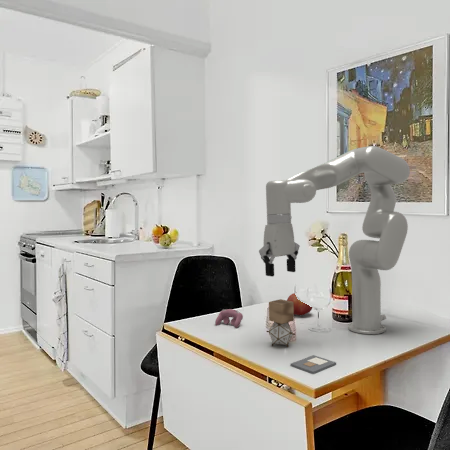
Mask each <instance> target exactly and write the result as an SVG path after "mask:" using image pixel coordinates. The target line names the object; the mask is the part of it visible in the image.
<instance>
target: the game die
mask: <svg viewBox="0 0 450 450" xmlns="http://www.w3.org/2000/svg"><path fill="white" fill-rule="evenodd" d="M289 323H290V322H287V323H283V324H280V323H277V322H273V323H272V325H271V327H270V328H269V329H268V330H266V333H268V335H269V336H270V339H271V341H272V344H271V347H273V346H274V345H285V346H286V347H287V348H289V345H288V344H289V343H290V341H291V339H292V337H293V336H296V333H294V332H293V330H292V328H291V325H290V324H289Z"/></svg>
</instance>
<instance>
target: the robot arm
mask: <svg viewBox="0 0 450 450" xmlns="http://www.w3.org/2000/svg"><path fill="white" fill-rule="evenodd" d="M410 173H411V169H410V165H409V164H408V161H406V160H405V159H404V158H402V157H401V156H399V155H397V154H395V153H392V152H390V151H388V150H386V149H384V148H383V147H379V146H376V145H375V146H374V145H368V146H364V147H357V148H353V149H351V150H349V151H347V152H345V153H343V154H341V155H339V156H337V157H335V158H333V159H331V160H329V161H327V162H324V163H322V164H319V165H317V166H314V167H312V168H310V169H307V170H305V171H302V172H300V173H298V174H295V175H294V176H292V177H290V178H287V179H283V180H269V181H268V182H266V184H265V197H266V198H265V199H266V200H265V201H266V202H265V203H266V224H265V226H264V232H263V246H262V247H261V248H260V249H259V250H258V253H259V256H260V258H261V260H262V261H263V264H265V265H264V266H265V267H264V268H265V276H267V277H272V278H273V277H274V276H275V265H274V263H273V262H274V260H275V258H276V257H277V258H279V257H284V256H286V257H287V259H286V271H287V272H290V273H296V260H297V256H298V254H299V250H300V247H301V246H300V245H299V243H296V242H295V234H294V233H295V232H294V227H293V224H292V208H291V206H292V205H291V204H295V203H296V204H303V203H304V204H305V203H308V202H310V201H312V200H313V199H314V198H315V196H316V195H317V191H319V190H325V189H330V188H333V187H338V186H339V185H342V184H343V183H345V182H347V181H349V180H351V179H352V178H354V177H356V176H358V175H360V174H364V175H363V176H364V179H365V181H366V183H367V185H368V187H369V189H370V195H371V197H370V201H369V205H368V207H367V210H366V213H365V216H364V219H363V223H362V227H361V228H362V229H361V230H362V233H363V234H364V235H365V236H367V237H368V238H371V239H359V240H356V241H354V242H353V243H352V244H351V246H350V247H349V250H348V259H349V263H350V264H349V265H350V269H351V297H352V299H351V302H352V303H351V307H352V308H351V309H352V310H351V311H352V313H351V315H352V317H351V318H352V319H351V320H352V322H350V323H348V325H347V329H348V330H349V331H351V332H353V333H356V334H363V335H378V334H382V333H385V332H386V329H387V327H386V326H385V325H384V324H382V322H383V321H385V320H386V319H387V315H385V314H381V310H382V309H381V307H382V305H381V304H382V303H381V302H382V301H381V296H382V295H381V290H382V289H381V287H382V286H381V285H382V284H381V283H382V282H381V275H380V273H379V270H380V271H390V270H391V269H394V267H395V266H396V265H397V264H398V261H399V259H400V256H401V254H402V250H403V247H404V244H405V241H406V237H407V234H408V230H409V225H408V224H409V223H408V220H407V218H406V217H405V215H404V214H402V213H401V212H399V211H395V209H396V203H397V196H396V193H395V191H394V188H393V187H392V185H398V184H402V183H404V182H405V181H407V180H408V179H409V177H410ZM373 239H379V240H373Z"/></svg>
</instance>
